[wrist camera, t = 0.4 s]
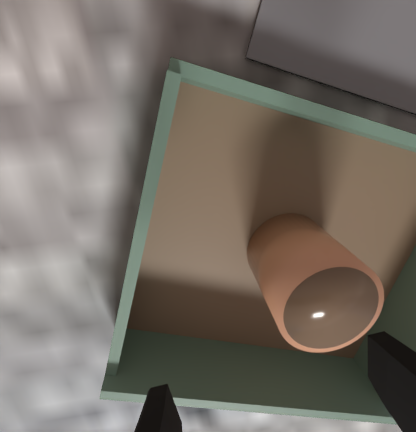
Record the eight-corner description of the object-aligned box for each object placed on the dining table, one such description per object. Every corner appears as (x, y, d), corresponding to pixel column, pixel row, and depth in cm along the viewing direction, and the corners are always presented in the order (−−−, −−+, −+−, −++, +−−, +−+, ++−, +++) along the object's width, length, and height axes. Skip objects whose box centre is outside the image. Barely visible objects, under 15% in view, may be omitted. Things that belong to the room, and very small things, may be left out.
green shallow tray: (469, 158, 19) (567, 176, 14) (355, 362, 24) (398, 424, 20) (171, 65, 15) (170, 48, 10) (116, 331, 20) (99, 399, 16)
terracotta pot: (336, 222, 19) (404, 272, 13) (306, 289, 21) (356, 358, 15) (261, 205, 18) (301, 251, 12) (236, 277, 20) (262, 346, 14)
